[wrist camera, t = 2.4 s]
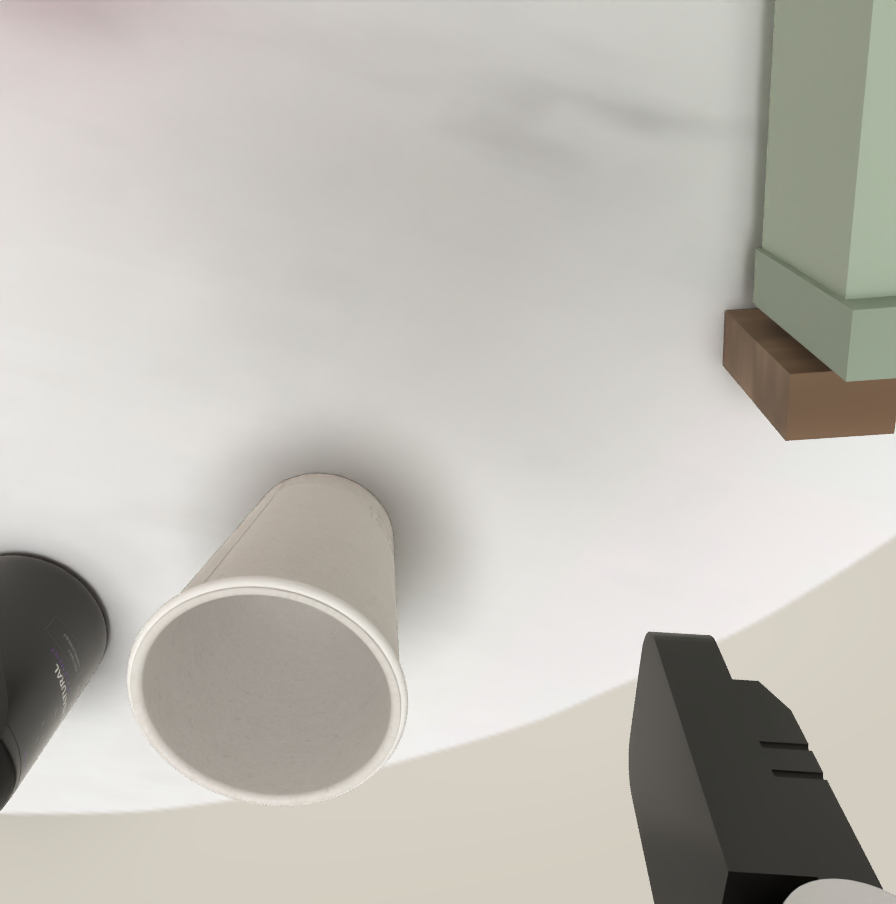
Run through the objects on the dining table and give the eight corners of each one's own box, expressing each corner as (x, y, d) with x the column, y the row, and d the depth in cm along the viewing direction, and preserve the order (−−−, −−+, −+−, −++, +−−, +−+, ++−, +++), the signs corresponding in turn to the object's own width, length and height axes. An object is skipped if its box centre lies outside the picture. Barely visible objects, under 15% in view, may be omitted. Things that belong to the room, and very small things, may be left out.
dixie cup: (286, 651, 37) (220, 841, 28) (179, 491, 34) (66, 645, 25) (462, 580, 35) (455, 759, 26) (365, 406, 32) (318, 538, 23)
